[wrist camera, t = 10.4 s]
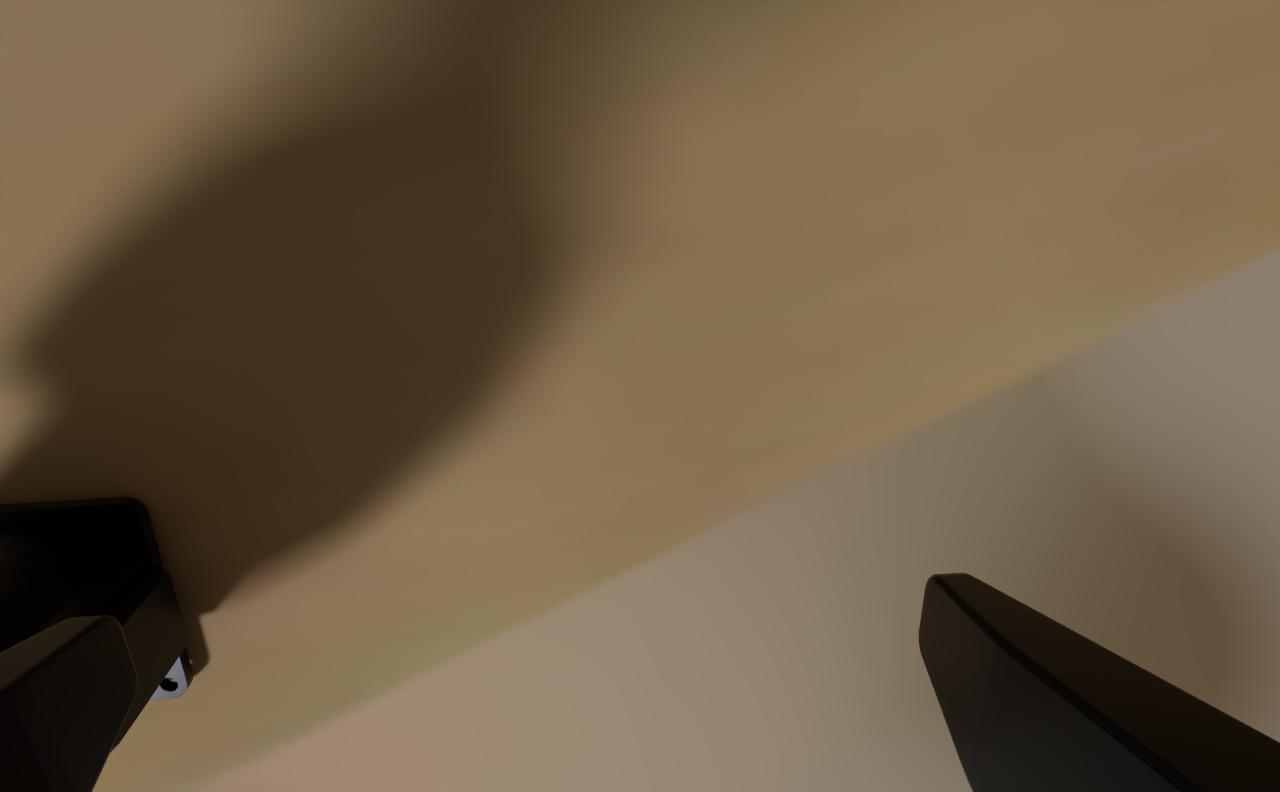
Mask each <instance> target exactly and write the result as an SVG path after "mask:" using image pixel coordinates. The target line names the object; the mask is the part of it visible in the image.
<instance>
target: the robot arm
mask: <svg viewBox="0 0 1280 792" xmlns="http://www.w3.org/2000/svg"><path fill="white" fill-rule="evenodd" d="M119 512H121V513H125V514H127V515H128V516H129V517H130V519H131V522H130V521H125V520H124V519H122V518H121V517H120V515H119ZM187 644H188V639H187V635H186V631H185V628H184V624H183V620H182V617H181V613H180V610H179V606H178V602H177V599H176V595H175V591H174V588H173V584H172V580H171V577H170V574H169V572H168V571H167V570H166V569H165V568H164V567H163V564H162V561H161V557H160V553H159V550H158V546H157V543H156V539H155V535H154V532H153V528H152V525H151V521H150V517H149V514H148V511H147V509H146V507H145V506H144V505H143V504H142V503H141V502H140V501H138V500H136V499H133V498H128V497H119V498H103V499H87V500H71V501H55V502H39V503H23V504H7V505H0V792H92V791H93V789H94V786H95V784H96V782H97V780H98V778H99V775H100V773H101V771H102V769H103V767H104V764H105V762H106V760H107V758H108V756H109V754H110V753H111V752H112V751H113V750H114V748H115V747H116V746H117V745H118V744H119V743H120V741H121V740H122V739H123V737H124V736H125V734H126V733H127V731H128V730H129V729H130V727H131V726H132V724H133V723H134V721H135V720H136V718H137V717H138V716H139V714H140V713H141V711H142V710H143V708H144V707H145V705H146V704H147V703H148V701H149V700H158V699H170V698H176V697H180V696H181V695H182V694H184V693H185V691H186V690H187V688H188V687H189V685H190V684H191V682H192V680H193V673H192V669H191V665H190V662H189V658H188V655H187V651H186V646H187ZM919 646H920V651H921V655H922V658H923V660H924V663H925V666H926V669H927V671H928V674H929V676H930V679H931V682H932V685H933V688H934V690H935V693H936V696H937V699H938V702H939V704H940V707H941V710H942V712H943V715H944V718H945V721H946V724H947V726H948V729H949V732H950V735H951V737H952V740H953V743H954V745H955V748H956V751H957V754H958V757H959V759H960V762H961V764H962V767H963V769H964V772H965V775H966V777H967V780H968V782H969V784H970V786H971V788H972V790H973V792H1280V742H1277V741H1276V740H1274V739H1272V738H1270V737H1269V736H1267V735H1265V734H1263V733H1261V732H1259V731H1257V730H1256V729H1254V728H1252V727H1250V726H1248V725H1246V724H1245V723H1243V722H1241V721H1239V720H1237V719H1235V718H1234V717H1232V716H1230V715H1228V714H1226V713H1224V712H1222V711H1221V710H1219V709H1217V708H1215V707H1213V706H1211V705H1209V704H1208V703H1206V702H1204V701H1202V700H1200V699H1198V698H1197V697H1195V696H1193V695H1191V694H1189V693H1187V692H1185V691H1184V690H1182V689H1180V688H1178V687H1176V686H1174V685H1173V684H1171V683H1169V682H1167V681H1165V680H1163V679H1161V678H1160V677H1158V676H1156V675H1154V674H1152V673H1150V672H1149V671H1147V670H1145V669H1143V668H1141V667H1139V666H1138V665H1136V664H1134V663H1132V662H1130V661H1128V660H1126V659H1125V658H1123V657H1121V656H1119V655H1117V654H1115V653H1114V652H1112V651H1110V650H1108V649H1106V648H1104V647H1102V646H1100V645H1099V644H1097V643H1095V642H1093V641H1091V640H1090V639H1088V638H1086V637H1084V636H1082V635H1080V634H1078V633H1077V632H1075V631H1073V630H1071V629H1069V628H1067V627H1066V626H1064V625H1062V624H1060V623H1058V622H1056V621H1054V620H1052V619H1051V618H1049V617H1047V616H1045V615H1043V614H1042V613H1040V612H1038V611H1036V610H1034V609H1032V608H1030V607H1029V606H1027V605H1025V604H1023V603H1021V602H1019V601H1017V600H1016V599H1014V598H1012V597H1010V596H1008V595H1006V594H1005V593H1003V592H1001V591H999V590H997V589H995V588H993V587H992V586H990V585H988V584H986V583H984V582H982V581H981V580H979V579H977V578H975V577H973V576H971V575H969V574H966V573H949V574H935V575H932V576H931V577H930V578H929V579H928V581H927V584H926V587H925V593H924V600H923V607H922V614H921V621H920V627H919ZM168 678H173V679H174V680H176V681H177V682H172V681H170V680H168Z"/></svg>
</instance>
